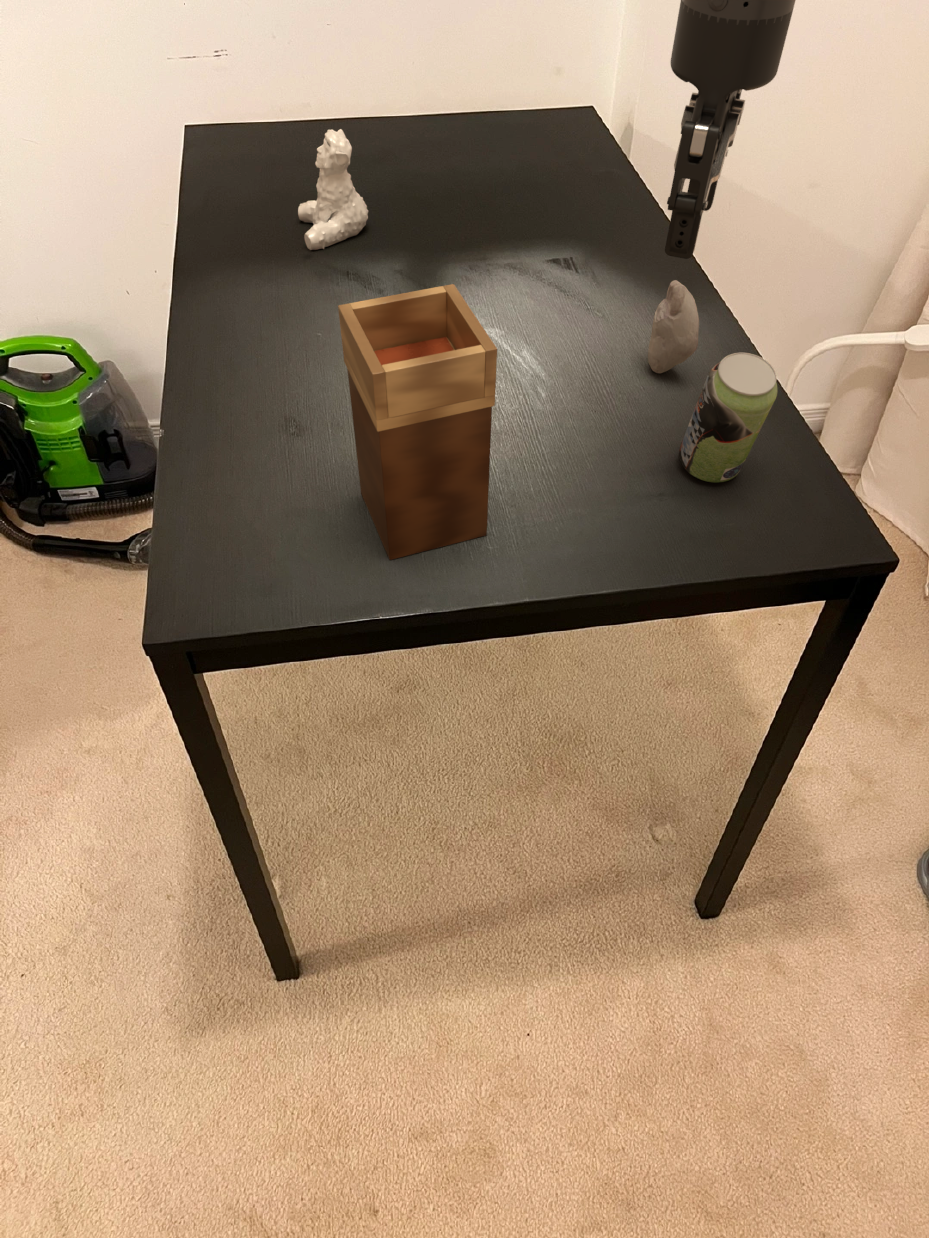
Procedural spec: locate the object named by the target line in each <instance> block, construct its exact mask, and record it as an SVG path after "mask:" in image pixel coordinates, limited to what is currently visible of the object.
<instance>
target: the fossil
mask: <svg viewBox="0 0 929 1238" xmlns="http://www.w3.org/2000/svg"><path fill="white" fill-rule="evenodd" d="M697 307H698V306H697V304H696V301H695V298H694V296H693V294H692V293H691V292H690V291H689V290H688V288H687V287H686V286H685V285H684V284H682V283H681V282H680V281H678V280H677V279H673V280H672V281H671V282H670V283H669V285H668V289H667V292H666V297H665V298H664V299H662V300H661V302H660V303H659V304H658V305H657V307H656V310H655V312H654V316H653V321H652V327H651V335H650V340H649V344H648V351H647V358H648V359H647V361H648V365H649V367H650V369H651V370H652V371H653V372H654V373H656V374H663V373H666V372H668V371H670V370H671V369H673V368H674V367H675V366H677V365H680V364H682V363H684V362H685V361H687V359H689V358H690V357H691V356H692V355H693V354H694V353H695V352H696V351H697V350H698V346H699V329H700V318H699V312H698V308H697Z"/></svg>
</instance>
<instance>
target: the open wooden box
mask: <svg viewBox="0 0 929 1238" xmlns="http://www.w3.org/2000/svg"><path fill="white" fill-rule="evenodd" d="M337 309H338V318H339V328H340V335H341V337H340V338H341V344H342V345H341V347H342V352H343V362H344V364H345V367H346V369H348V370H347V372H348V371H349V373H350V375H351V377H352V379H353V381H354V383H355V385H356V388H357V390H358V392H359V394H360V396H361V398H362V400H363V402H364V404H365V406H366V409H367V411H368V413H369V415H370V417H371V419H372V421H373V423H374V425H375V428H376V430H377V431H378V432H379V431H383V430H388V429H392V428H397V427H401V426H406V425H410V424H415V423H419V422H424V421H428V420H433V419H437V418H442V417H446V416H451V415H455V414H460V413H465V412H469V411H474V410H478V409H483V408H487V407H492V408H493V407H495V406H496V405H495V404H496V389H497V388H496V387H497V386H496V385H497V367H498V365H497V362H498V347H497V346H496V344H494V342H493V340H492V339H491V337H490V336H489V334H488V333H487V331H486V330H485V328H484V327H483V326H482V324H481V322H480V321H479V319H478V318H477V317H476V315H475V314H474V312H473V311H472V309H471V307H470V306H469V304H468V303H467V302H466V300H465V299H464V297H463V295H462V294H461V292H460V291H459V289H458V288H457V286H456V285H455V284H454V283H452V284H447V285H442V286H435V287H430V288H429V287H428V288H424V289H419V290H413V291H408V292H402V293H398V294H397V293H396V294H391V295H387V296H382V297H381V296H380V297H376V298H371V299H370V298H369V299H365V300H360V301H359V300H358V301H354V302H350V303H342V304H338V306H337Z"/></svg>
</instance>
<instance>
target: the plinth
mask: <svg viewBox="0 0 929 1238" xmlns="http://www.w3.org/2000/svg"><path fill="white" fill-rule="evenodd" d="M346 369H347V368H346ZM347 378H348V387H349V396H350V406H351V415H352V424H353V432H354V441H355V451H356V461H357V469H358V478H359V487H360V494H361V497H362V499H363V501H364V503H365V506H366V508H367V511H368V514H369V515H370V518H371V520H372V522H373V524H374V527H375V529H376V532H377V534H378V536H379V539H380V541H381V542H382V546H383V548H384V550H385V553H386V555H387V558H388V559H389V561H392V560H396V559H400V558H403V557H408V556H412V555H416V554H419V553H423V552H427V551H432V550H435V549H439V548H443V547H445V546H446V547H447V546H450V545H454V544H458V543H463V542H466V541H470V540H474V539H477V538H482V537H485V536H487V535H488V513H489V490H490V467H491V466H490V465H491V442H492V437H491V436H492V419H493V418H492V416H493V415H492V414H493V406H492V407H487V408H483V409H478V410H474V411H469V412H465V413H460V414H455V415H451V416H446V417H442V418H437V419H433V420H428V421H424V422H419V423H415V424H410V425H406V426H401V427H397V428H392V429H388V430H383V431H379V432H378V431H377V430H376V428H375V425H374V423H373V421H372V419H371V417H370V415H369V413H368V411H367V409H366V406H365V404H364V402H363V400H362V398H361V396H360V394H359V392H358V390H357V388H356V385H355V383H354V381H353V379H352V377H351V375H350V373H349V371H348V369H347Z"/></svg>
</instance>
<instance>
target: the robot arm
mask: <svg viewBox="0 0 929 1238" xmlns="http://www.w3.org/2000/svg"><path fill="white" fill-rule="evenodd" d="M795 3H796V0H680V3H679V8H678V14H677V21H676V26H675V32H674V38H673V43H672V51H671V56H670V68H671V71H672V73H673V74H674V75H675V76H676V77H677V78H678V79H680V80H681V81H683V82H684V83H689V84H691V85H693V86H694V87H695V88H696V89H697V92H692V93H691V96H690V99H689V104H688V105H687V104H686V105H685V107H684V111H683V114H682V117H681V122H680V135H681V136H680V139H679V144H678V147H677V152H676V155H675V159H674V163H673V169H674V172H673V177H672V178H673V179H672V184H671V188H670V193H669V196H668V197H667V200H666V205H667V210H668V211H671V214H670V221H669V226H668V231H667V235H666V242H665V245H664V246H665V247H664V253H665V254H666V256H669V257H674V258H679V259H683V260H689V259H690V258H691V257H693V255H694V252H695V249H696V245H697V240H698V235H699V231H700V227H701V222H702V217H703V214H704V212H706V211H709V210H711V208H712V206H713V203H714V199H715V195H716V191H717V186H718V183H719V180H720V178H721V174H722V170H723V167H724V163H725V159H726V158H727V157H728V154H729V149H728V148H731V147H732V146H733V144H734V140H735V137H736V135H737V130H738V126H739V125H740V123H741V120H742V116H743V112H744V109H745V104H746V99H741V97H742V92H743V90H744V91H745V92H747V91H752V90H757V89H760V88H762V87H766V85H769V84H770V83H771V82H772V81H773V80H774V78H775V77H777V74H778V70H779V66H780V63H781V62H780V61H781V59H782V55H783V51H784V47H785V43H786V39H787V36H788V31H789V27H790V23H791V20H792V16H793V12H794V8H795ZM686 180H689V181H688V187H687V191H683V189H684V187H685V181H686Z"/></svg>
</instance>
